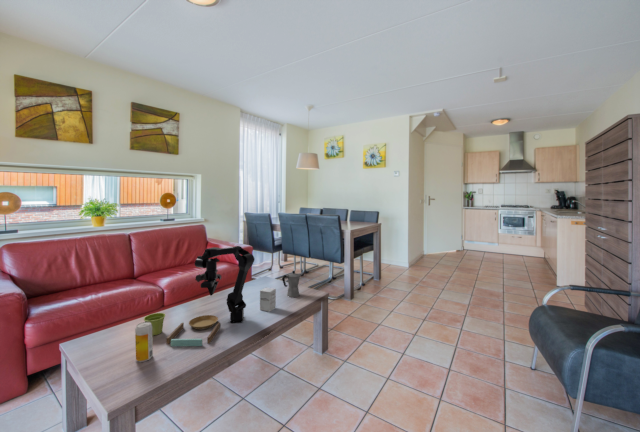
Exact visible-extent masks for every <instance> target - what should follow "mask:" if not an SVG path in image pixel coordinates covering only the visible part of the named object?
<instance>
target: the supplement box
mask: <svg viewBox="0 0 640 432" xmlns="http://www.w3.org/2000/svg"><path fill="white" fill-rule="evenodd" d="M276 293H277V289H276V288H272V287H264V288H262V289H261V290H259V310H260V311H263V312H264V311H265V312H272V311H273V310H275V309H276V307H277V306H276V298H277V295H276Z"/></svg>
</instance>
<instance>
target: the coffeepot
mask: <svg viewBox="0 0 640 432" xmlns="http://www.w3.org/2000/svg"><path fill="white" fill-rule="evenodd" d="M302 275H303V274H302V273H295V270H292V273H288V274H287V273H286V274H285V275H283V276H282V278H281V280H282V283H283V286H284V287H288V288H287V294H286V296H287V297H288V296H289V297H288V298H292V297H294V298H298V297H300V289H299V282H300V277H301V276H302ZM285 279H287V281H288V284H287V283H286V280H285ZM297 296H298V297H297Z"/></svg>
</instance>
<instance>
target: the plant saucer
mask: <svg viewBox="0 0 640 432" xmlns="http://www.w3.org/2000/svg"><path fill="white" fill-rule="evenodd" d="M218 320H219V317H217V316H216V315H212V314H205V315H199V316H196V317H194V318H193V317H192V319H190V320H189V321H188V325H189V326H190V327H191V328H192V329H195V330H206V329H210V328H212V327H213V326H215V325H216V324H217V323H218Z"/></svg>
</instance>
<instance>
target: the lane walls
mask: <svg viewBox="0 0 640 432" xmlns="http://www.w3.org/2000/svg"><path fill="white" fill-rule="evenodd" d="M184 326H185V324H184V322H181V323H180V324H179V325H178V326H177V327H176V328H175V329H174V330H173V331H172V332H171V333H170V334H168V335H167V336H166V338H165V343H166V345H169V344H171V339H176V337H177V336H178V335H179V334H180V333H181V332H182V331H183V330H184V329H185V327H184ZM220 328H221V322H218V321H217V322H216V324H215V325H214V327H213V329H212V331H211V332H210V333H209V334H208V336H207V339H206V340H207V344H211V342H212V341H213V339H214V338H215V336H216V335H217V333H218V331H220ZM182 329H183V330H182ZM181 330H182V331H181Z"/></svg>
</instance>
